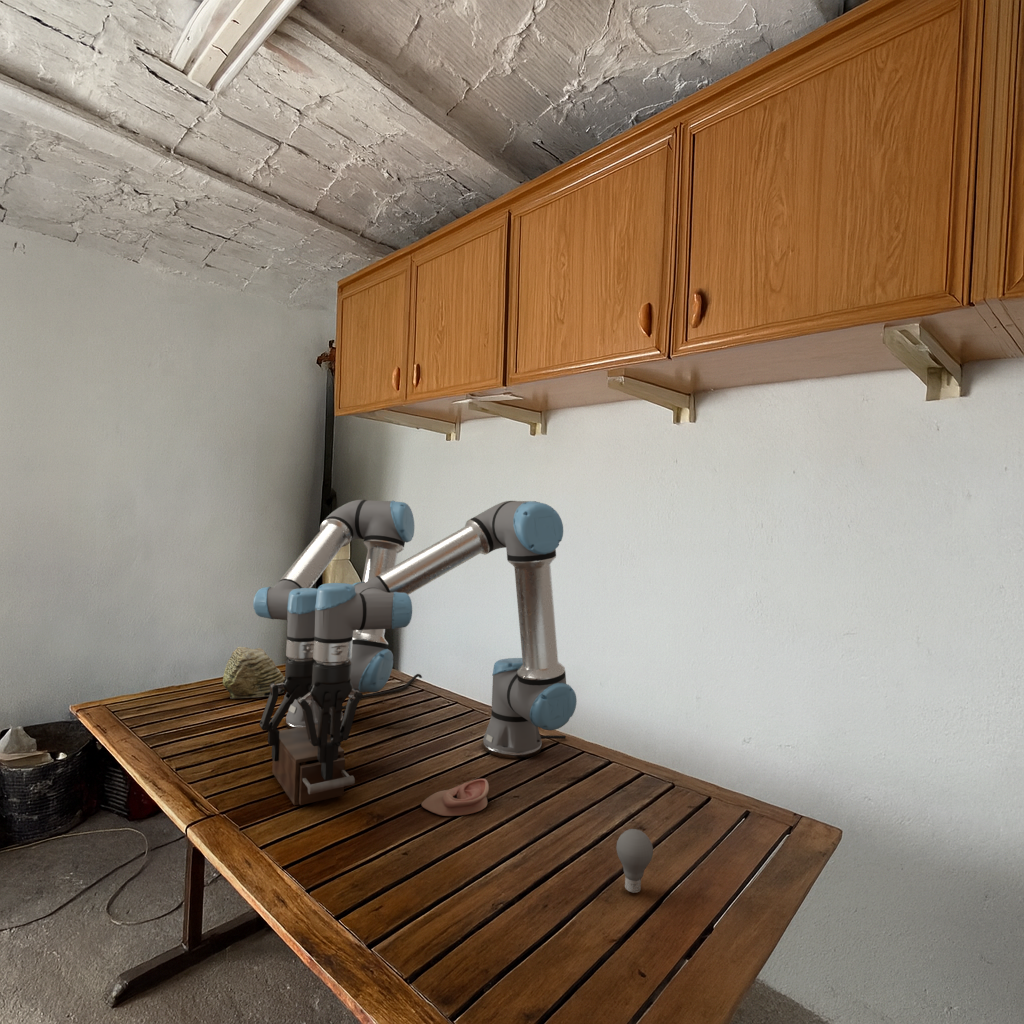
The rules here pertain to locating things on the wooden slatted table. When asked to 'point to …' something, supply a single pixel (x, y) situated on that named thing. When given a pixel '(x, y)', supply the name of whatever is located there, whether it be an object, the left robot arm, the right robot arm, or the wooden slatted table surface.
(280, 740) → the cabinet
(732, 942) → the wooden slatted table surface
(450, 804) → the anatomical model
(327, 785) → the drawer
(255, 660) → the fossil
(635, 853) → the light bulb
